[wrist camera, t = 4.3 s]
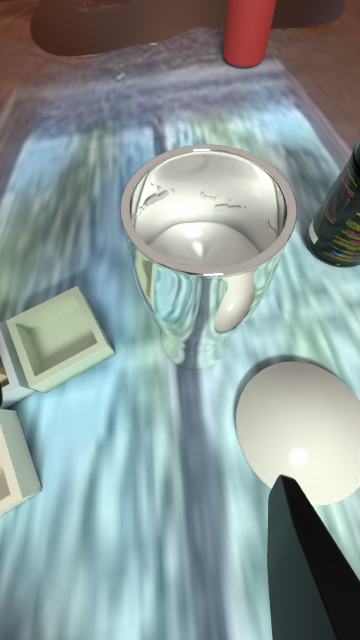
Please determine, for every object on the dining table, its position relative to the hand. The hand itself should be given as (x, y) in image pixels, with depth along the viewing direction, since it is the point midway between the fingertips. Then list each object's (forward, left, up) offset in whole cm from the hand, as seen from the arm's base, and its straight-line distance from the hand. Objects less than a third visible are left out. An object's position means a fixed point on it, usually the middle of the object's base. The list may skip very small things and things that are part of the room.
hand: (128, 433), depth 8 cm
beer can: (+38, +41, -14) cm, 58 cm away
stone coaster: (+9, -5, -13) cm, 17 cm away
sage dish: (-4, +11, -13) cm, 18 cm away
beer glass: (+6, +5, -14) cm, 16 cm away
